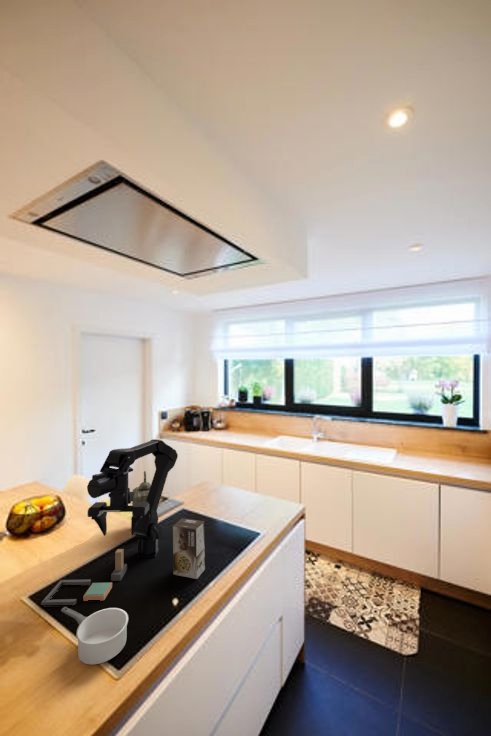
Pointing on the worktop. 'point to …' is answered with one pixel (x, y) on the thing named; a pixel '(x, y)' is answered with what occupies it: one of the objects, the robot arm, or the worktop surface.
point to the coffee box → (188, 548)
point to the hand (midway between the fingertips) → (118, 535)
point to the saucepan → (100, 634)
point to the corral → (64, 601)
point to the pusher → (119, 566)
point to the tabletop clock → (141, 491)
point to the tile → (97, 591)
